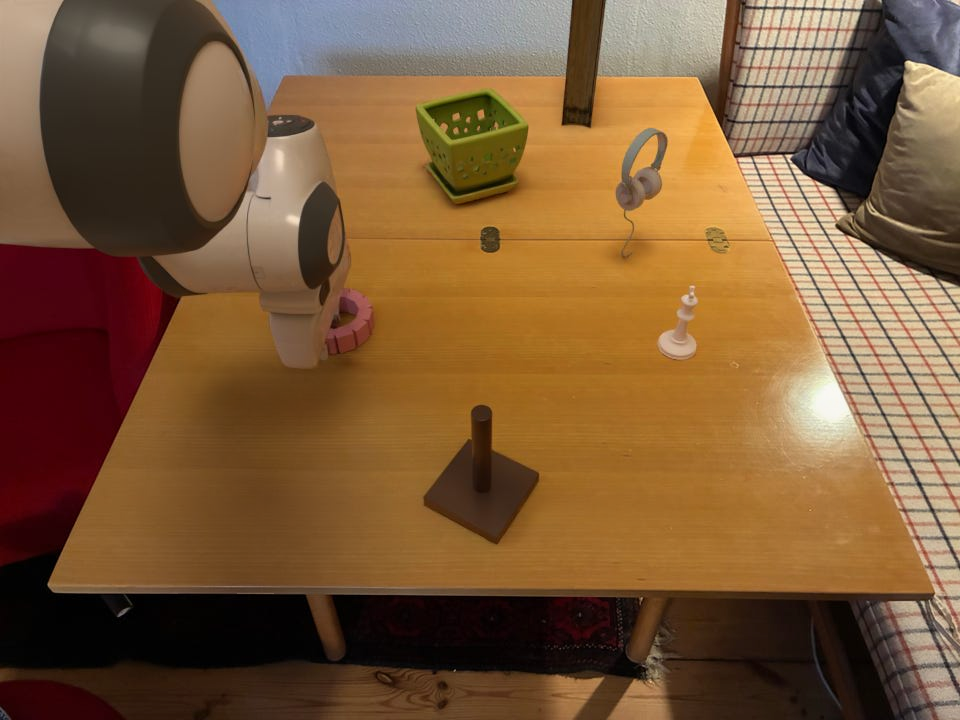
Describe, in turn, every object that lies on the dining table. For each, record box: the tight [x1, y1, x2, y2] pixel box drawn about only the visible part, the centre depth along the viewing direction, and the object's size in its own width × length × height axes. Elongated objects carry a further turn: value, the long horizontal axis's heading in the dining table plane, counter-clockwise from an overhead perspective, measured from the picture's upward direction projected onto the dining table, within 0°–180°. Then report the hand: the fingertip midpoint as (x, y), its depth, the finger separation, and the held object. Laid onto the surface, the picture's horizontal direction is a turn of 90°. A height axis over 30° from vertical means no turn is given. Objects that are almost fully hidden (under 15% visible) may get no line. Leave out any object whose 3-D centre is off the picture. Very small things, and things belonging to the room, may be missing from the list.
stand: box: [422, 404, 540, 545], centre depth 70 cm, size 9×9×14 cm
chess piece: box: [656, 285, 699, 361], centre depth 86 cm, size 5×5×10 cm
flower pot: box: [415, 87, 529, 205], centre depth 112 cm, size 14×14×13 cm
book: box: [561, 0, 607, 128], centre depth 126 cm, size 16×6×25 cm, turn 171°
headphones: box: [615, 127, 669, 259], centre depth 95 cm, size 8×4×20 cm, turn 134°
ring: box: [325, 287, 376, 355], centre depth 92 cm, size 10×10×3 cm
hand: (327, 340), depth 89 cm, fingers open, 4 cm apart
